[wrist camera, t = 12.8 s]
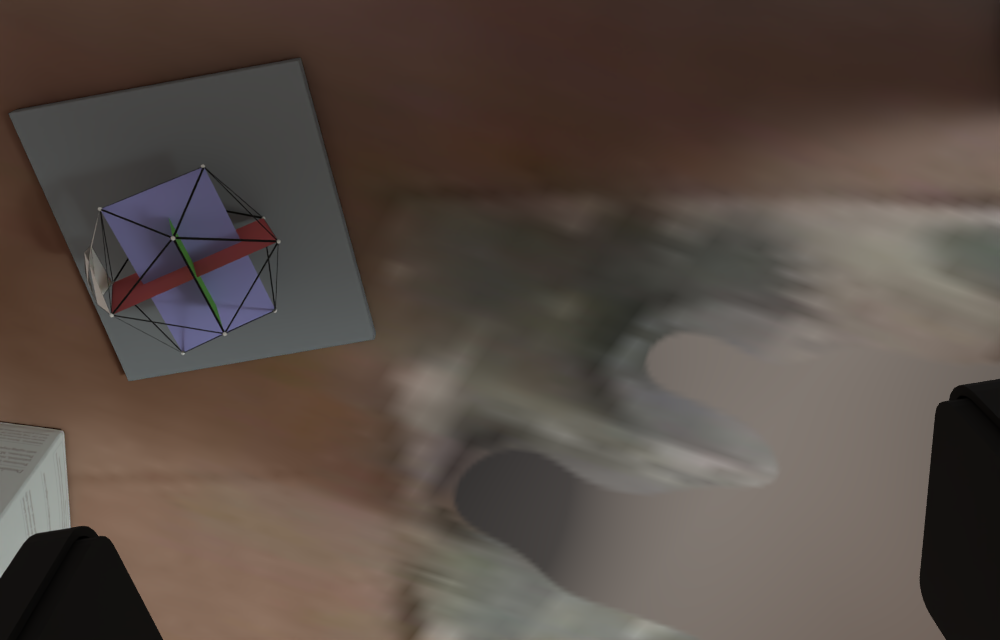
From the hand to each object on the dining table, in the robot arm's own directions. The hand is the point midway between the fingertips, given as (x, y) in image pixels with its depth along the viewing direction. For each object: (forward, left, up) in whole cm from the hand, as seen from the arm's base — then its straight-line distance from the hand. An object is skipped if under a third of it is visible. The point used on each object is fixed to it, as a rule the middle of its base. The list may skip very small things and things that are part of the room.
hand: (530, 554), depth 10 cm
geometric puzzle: (+13, +5, -28) cm, 31 cm away
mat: (+13, +5, -28) cm, 31 cm away
